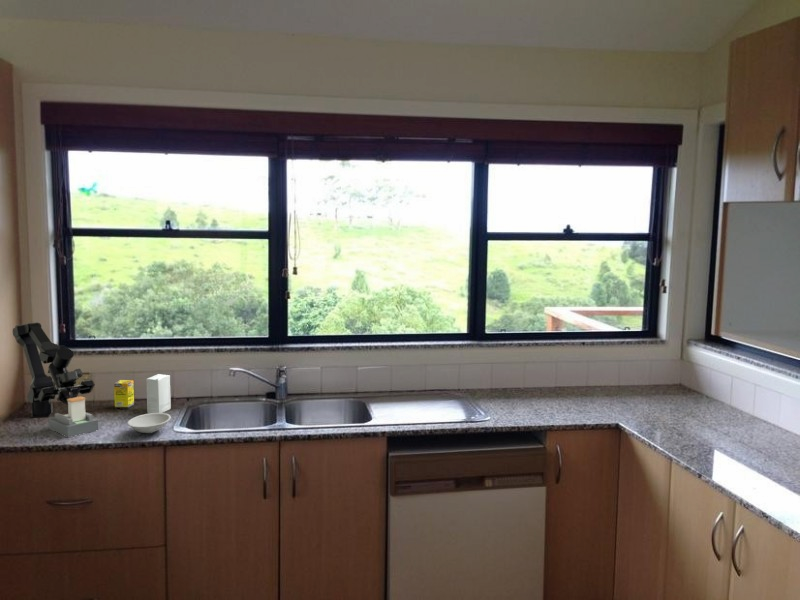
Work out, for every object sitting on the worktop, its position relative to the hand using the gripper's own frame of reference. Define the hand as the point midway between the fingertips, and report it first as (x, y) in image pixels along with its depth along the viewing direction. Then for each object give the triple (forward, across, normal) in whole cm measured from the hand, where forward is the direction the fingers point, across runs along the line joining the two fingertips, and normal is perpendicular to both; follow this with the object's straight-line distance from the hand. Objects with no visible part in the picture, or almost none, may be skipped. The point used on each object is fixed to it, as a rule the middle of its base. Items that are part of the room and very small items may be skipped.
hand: (75, 408), depth 238 cm
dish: (+22, +17, -10) cm, 29 cm away
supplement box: (-6, +28, +18) cm, 33 cm away
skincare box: (+6, +34, +6) cm, 35 cm away
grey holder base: (+4, 0, +7) cm, 8 cm away
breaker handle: (+4, 0, +2) cm, 4 cm away
